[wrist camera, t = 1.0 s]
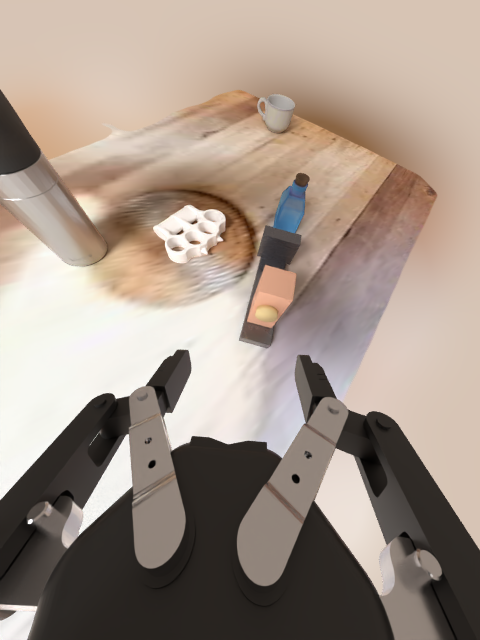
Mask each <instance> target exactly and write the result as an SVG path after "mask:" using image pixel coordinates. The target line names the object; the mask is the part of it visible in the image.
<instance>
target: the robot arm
mask: <svg viewBox="0 0 480 640" xmlns="http://www.w3.org/2000/svg"><path fill="white" fill-rule="evenodd" d="M0 204H1V205H2V206H3V207H4V208H5V209H7V210H8V211H9V212H10V213H11V214H12V215H13V216H14V217H15V218H16V219H18V220H19V221H20V222H21V223H22V224H23V225H24V226H25V227H26V228H28V229H29V230H30V231H31V232H32V233H33V234H34V235H35V236H36V237H37V238H39V239H40V240H41V241H42V242H43V243H44V244H45V245H46V246H47V247H48V248H50V249H51V250H52V251H53V252H54V253H55V254H56V255H57V256H58V257H60V258H61V259H62V260H63V261H64V262H65V263H67V264H69V265H72V266H87V265H90V264H93V263H95V262H97V261H99V260H100V259H101V258H102V257H103V256H104V255H105V254H106V251H107V243H106V242H105V240H104V239H103V237H102V236H101V235H100V233H99V232H98V230H97V229H96V227H95V226H94V224H93V223H92V222H91V220H90V219H89V217H88V216H87V215H86V213H85V212H84V210H83V209H82V207H81V206H80V205H79V203H78V202H77V200H76V199H75V197H74V196H73V195H72V193H71V192H70V190H69V189H68V188H67V186H66V185H65V183H64V182H63V180H62V179H61V178H60V176H59V175H58V173H57V172H56V171H55V169H54V168H53V166H52V165H51V164H50V162H49V161H48V159H47V158H46V156H45V155H44V154H43V152H42V151H41V149H40V148H39V147H38V145H37V144H36V142H35V141H34V139H33V138H32V137H31V135H30V134H29V132H28V130H27V129H26V127H25V126H24V124H23V123H22V121H21V119H20V118H19V116H18V115H17V113H16V112H15V110H14V109H13V107H12V106H11V104H10V103H9V101H8V100H7V98H6V97H5V96H4V94H3V93H2V91H1V90H0ZM190 373H191V361H190V356H189V351H188V350H177V351H176V352H175V354H174V355H173V356H169V357H168V358H167V359H165V360H164V361H163V363H162V364H161V365H160V367H159V368H158V370H157V371H156V372H155V374H154V375H153V377H152V378H151V379H150V381H149V382H148V383H147V385H146V386H144V387H141V388H139V389H137V390H135V391H134V392H133V393H132V394H131V395H130V396H128V397H123V398H118V399H116V398H115V396H114V395H113V394H111V393H106V394H102V395H99V396H97V397H95V398H94V399H92V400H91V401H90V402H89V403H88V404H87V405H86V406H85V408H84V409H83V410H82V411H81V412H80V413H79V414H78V415H77V416H76V417H75V419H74V420H73V421H72V422H71V423H70V424H69V425H68V426H67V427H66V428H65V430H64V431H63V432H62V433H61V434H60V435H59V436H58V437H57V438H56V439H55V441H54V442H53V443H52V444H51V445H50V446H49V447H48V448H47V449H46V451H45V452H44V453H43V454H42V455H41V456H40V457H39V458H38V459H37V460H36V462H35V463H34V464H33V465H32V466H31V467H30V468H29V469H28V470H27V471H26V473H25V474H24V475H23V476H22V477H21V478H20V479H19V480H18V481H17V482H16V484H15V485H14V486H13V487H12V488H11V489H10V490H9V491H8V492H7V493H6V495H5V496H4V497H3V498H2V499H1V500H0V620H3V619H6V618H8V617H9V616H11V615H12V614H13V613H15V612H16V611H35V612H36V613H35V617H34V620H33V624H32V627H31V630H30V633H29V636H28V639H27V640H480V550H479V548H478V547H477V545H476V544H475V542H474V541H473V539H472V538H471V536H470V535H469V533H468V532H467V530H466V529H465V527H464V525H463V524H462V522H461V521H460V519H459V518H458V516H457V515H456V513H455V512H454V510H453V509H452V507H451V505H450V504H449V502H448V501H447V499H446V498H445V496H444V495H443V493H442V492H441V490H440V489H439V487H438V485H437V484H436V483H435V481H434V479H433V478H432V476H431V475H430V473H429V472H428V470H427V469H426V467H425V466H424V464H423V462H422V461H421V459H420V458H419V456H418V455H417V453H416V452H415V450H414V449H413V447H412V446H411V444H410V442H409V441H408V439H407V438H406V436H405V435H404V433H403V432H402V430H401V429H400V427H399V426H398V424H397V423H396V422H395V421H394V420H393V419H392V418H390V417H389V416H387V415H385V414H383V413H380V412H375V411H372V412H369V413H368V414H367V416H364V415H361V414H358V413H355V412H352V411H350V410H348V409H347V407H346V406H345V405H344V404H343V403H342V402H341V401H339V400H338V399H337V398H336V396H335V394H334V392H333V390H332V387H331V385H330V383H329V381H328V379H327V377H326V375H325V372H324V370H323V368H322V367H321V366H320V365H319V364H318V363H312V361H311V358H310V356H309V355H298V356H297V362H296V368H295V381H296V385H297V389H298V393H299V397H300V401H301V406H302V410H303V414H304V418H305V422H306V424H304V425H303V426H302V428H301V429H300V431H299V433H298V434H297V436H296V437H295V439H294V441H293V442H292V444H291V446H290V447H289V449H288V450H287V452H286V454H285V455H284V457H283V459H282V458H281V457H280V456H279V455H278V454H276V453H275V452H273V451H271V450H268V449H267V442H256V441H244V442H239V443H234V444H225V443H222V442H220V441H217V440H215V439H212V438H209V437H197V436H192V438H191V441H190V443H186V444H183V445H181V446H179V447H177V448H176V449H174V450H173V451H172V447H171V444H170V440H169V436H168V433H167V429H166V425H165V421H164V418H163V417H164V415H165V413H172V412H173V410H174V408H175V406H176V404H177V401H178V399H179V397H180V395H181V393H182V391H183V389H184V387H185V384H186V382H187V380H188V378H189V376H190ZM98 433H99V434H98ZM97 434H98V435H97ZM126 434H129V441H130V455H131V469H132V483H133V486H132V487H131V488H130V489H129V490H128V491H127V492H126V493H125V494H124V495H123V496H122V497H120V498H119V499H118V500H117V501H116V502H115V503H114V504H113V505H112V506H111V507H109V508H108V509H107V510H106V511H105V512H104V513H103V514H102V515H101V516H100V517H98V518H97V519H96V520H95V521H94V522H93V523H92V524H91V525H90V526H89V527H88V528H86V529H85V530H84V531H83V532H82V533H81V534H80V535H79V529H80V527H81V524H82V521H83V511H82V509H83V507H84V506H85V504H86V502H87V501H88V499H89V497H90V496H91V494H92V492H93V490H94V489H95V487H96V485H97V484H98V482H99V480H100V478H101V477H102V475H103V473H104V472H105V470H106V468H107V466H108V465H109V463H110V461H111V460H112V458H113V456H114V454H115V453H116V451H117V449H118V448H119V446H120V444H121V442H122V441H123V439H124V437H125V436H126ZM96 435H97V436H96ZM95 437H96V438H95ZM94 438H95V439H94ZM93 440H94V441H93ZM92 441H93V442H92ZM91 442H92V443H91ZM90 444H91V445H90ZM335 448H337V449H339V450H342V451H344V452H346V453H349V454H352V455H354V457H355V460H356V462H357V465H358V468H359V470H360V473H361V476H362V479H363V482H364V484H365V487H366V490H367V492H368V495H369V498H370V500H371V503H372V506H373V508H374V511H375V514H376V517H377V520H378V522H379V525H380V528H381V531H382V533H383V536H384V539H385V541H386V544H387V546H386V547H385V548H384V549H383V550H382V552H381V553H380V559H379V560H380V561H379V562H380V569H381V573H382V578H383V592H382V595H381V596H380V595H379V594H378V592H377V590H376V588H375V587H374V585H373V583H372V581H371V580H370V578H369V577H368V575H367V573H366V572H365V571H364V569H363V568H362V566H361V565H360V564H359V562H358V561H357V559H356V558H355V557H354V555H353V554H352V553H351V551H350V550H349V548H348V547H347V546H346V544H345V543H344V541H343V540H342V539H341V537H340V536H339V535H338V533H337V532H336V530H335V529H334V528H333V526H332V525H331V523H330V522H329V521H328V519H327V518H326V516H325V515H324V514H323V512H322V511H321V510H320V508H319V507H318V505H317V504H316V503H315V501H314V500H315V498H316V495H317V493H318V490H319V487H320V485H321V483H322V480H323V477H324V475H325V472H326V470H327V468H328V465H329V463H330V460H331V458H332V455H333V453H334V450H335ZM78 535H79V536H78Z"/></svg>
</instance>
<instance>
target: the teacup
mask: <svg viewBox="0 0 480 640" xmlns="http://www.w3.org/2000/svg"><path fill="white" fill-rule="evenodd" d="M261 102H264V103H265V109H266V111H265V114H264V113H263V112H262V111H261V109H260V103H261ZM294 108H295V103H294V102H293V101H292V100H291V99H290V98H288V97H286V96H283V95H279V94H273V95H270V96H269V97H268V99H267V100H266V98H264V97H262V98H260V99H259V101H258V111H259V113H260V115H261V116H262V117H263V120H264V121H265V124H266V126H267V128H268V129H269V130H270V131H271V132H274V133H281V132H283V131H284V130H286V129H287V128H288V126H289V124H290V121H291V117H292V114H293V110H294Z"/></svg>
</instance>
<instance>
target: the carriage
mask: <svg viewBox="0 0 480 640" xmlns="http://www.w3.org/2000/svg"><path fill="white" fill-rule="evenodd" d="M295 281H296V273H293V272H289V271H285V270H282V269H278V268H275V267H271V266H268V265H265V267H264V270H263V272H262V275H261V278H260V281H259V283H258V286H257V289H256V292H255V294H254V297H253V300H252V304H251V308H250V312H249V315H248V319H247V322H250V323H254V324H257V325H261V326H265V327H268V328H272V327H273V326H274V324H275V323H276V322H277V320H278V319H279V318H280V316H281V315H282V314H283V313H284V311H285V310H286V309H287V307H288V306H289V305H290V304H291V302H292V301H293V295H294V288H295Z"/></svg>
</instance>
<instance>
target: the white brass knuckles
mask: <svg viewBox="0 0 480 640" xmlns="http://www.w3.org/2000/svg"><path fill="white" fill-rule="evenodd" d="M195 220H196V221H197V222H198V223H196V224H194V225H192V224H191V223H192V222H194V221H195ZM212 221H215V222H212ZM225 225H226V218H225V216H224V214H223V213H222V212H220V211H218V210H213V209H210V210H206V211H201V210H198V209H197V208H195V207H193V206H191V205H186V206H184V208H183V209H181V210H179V211H178V212H176V213H175V214H173V215H171V216H170V217H169V218H167V219H166V220H164V221H163V222H161V223H160V224H158V225H155V226H154V228H153V229H154V231H155V233H156V234H157V235H158V236H159V237H160V238H162V239H163V240H165V247H166V250H167V253H168V256H169V258H170V259H171V260H172V261H174V262H176V263H187V262H188V261H189V260H190V259H191V258H193V257H196V256H202V255H204V254H207V255H208V250H209V249H210V248H211V247H213V246H216V245H217V243H218V242H220V241H223V239H222V238H221V237H220V234H221V233H223V232H225ZM181 230H182V231H184V233H183V234H181V235H176V234H177V233H179V232H180V231H181ZM203 232H210V233H212V234H206V233H203ZM191 241H199V242H201V244H198V245H193V244H190V243H189V242H191ZM178 246H180V247H183V248H185V249H184V250H182V251H178V252H177V251H173V250H172V249H173V248H174V247H178Z"/></svg>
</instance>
